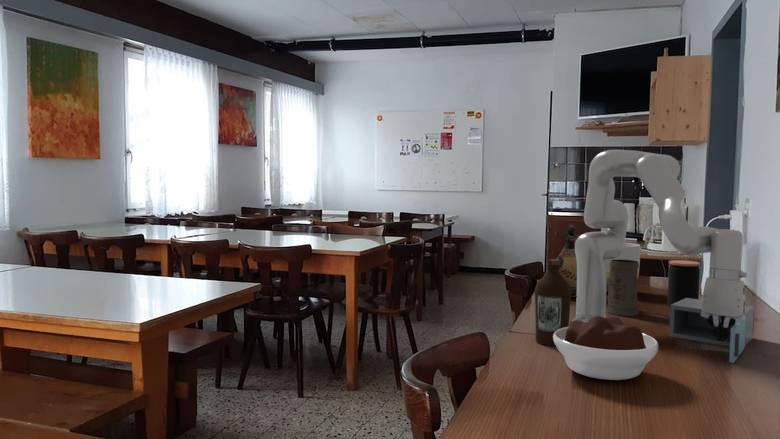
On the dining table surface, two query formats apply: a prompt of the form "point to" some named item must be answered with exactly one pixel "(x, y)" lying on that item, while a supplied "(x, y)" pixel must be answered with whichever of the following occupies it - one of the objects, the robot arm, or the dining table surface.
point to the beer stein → (623, 288)
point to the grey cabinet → (702, 323)
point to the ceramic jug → (569, 260)
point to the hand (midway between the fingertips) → (721, 340)
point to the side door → (737, 340)
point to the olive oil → (551, 304)
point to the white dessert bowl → (605, 348)
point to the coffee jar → (683, 280)
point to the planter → (625, 257)
